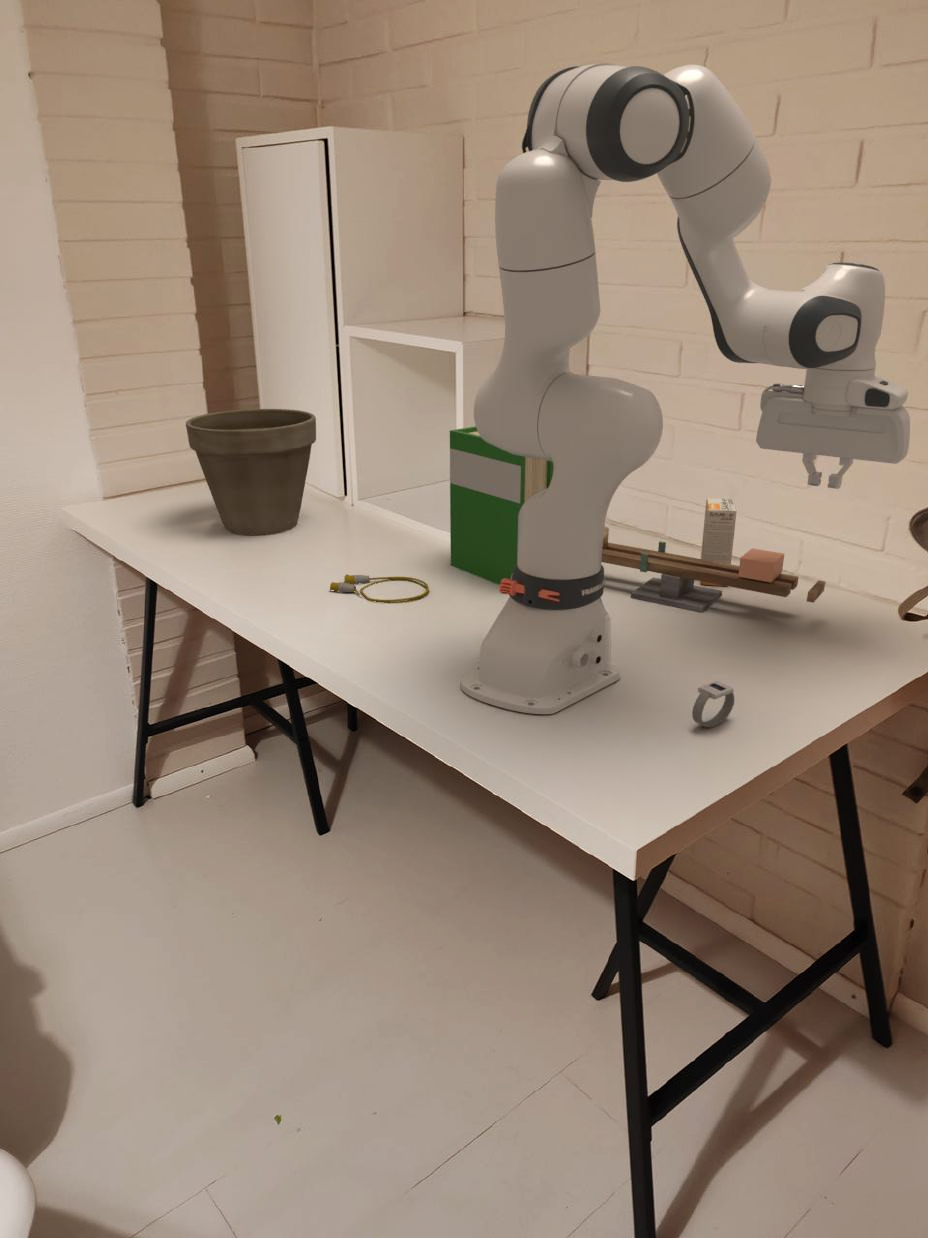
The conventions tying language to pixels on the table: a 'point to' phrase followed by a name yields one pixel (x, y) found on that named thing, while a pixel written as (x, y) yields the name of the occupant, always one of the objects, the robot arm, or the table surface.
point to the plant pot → (255, 465)
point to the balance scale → (691, 577)
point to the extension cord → (357, 579)
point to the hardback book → (489, 503)
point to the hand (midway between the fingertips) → (823, 486)
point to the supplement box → (718, 531)
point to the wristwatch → (714, 692)
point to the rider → (761, 565)
